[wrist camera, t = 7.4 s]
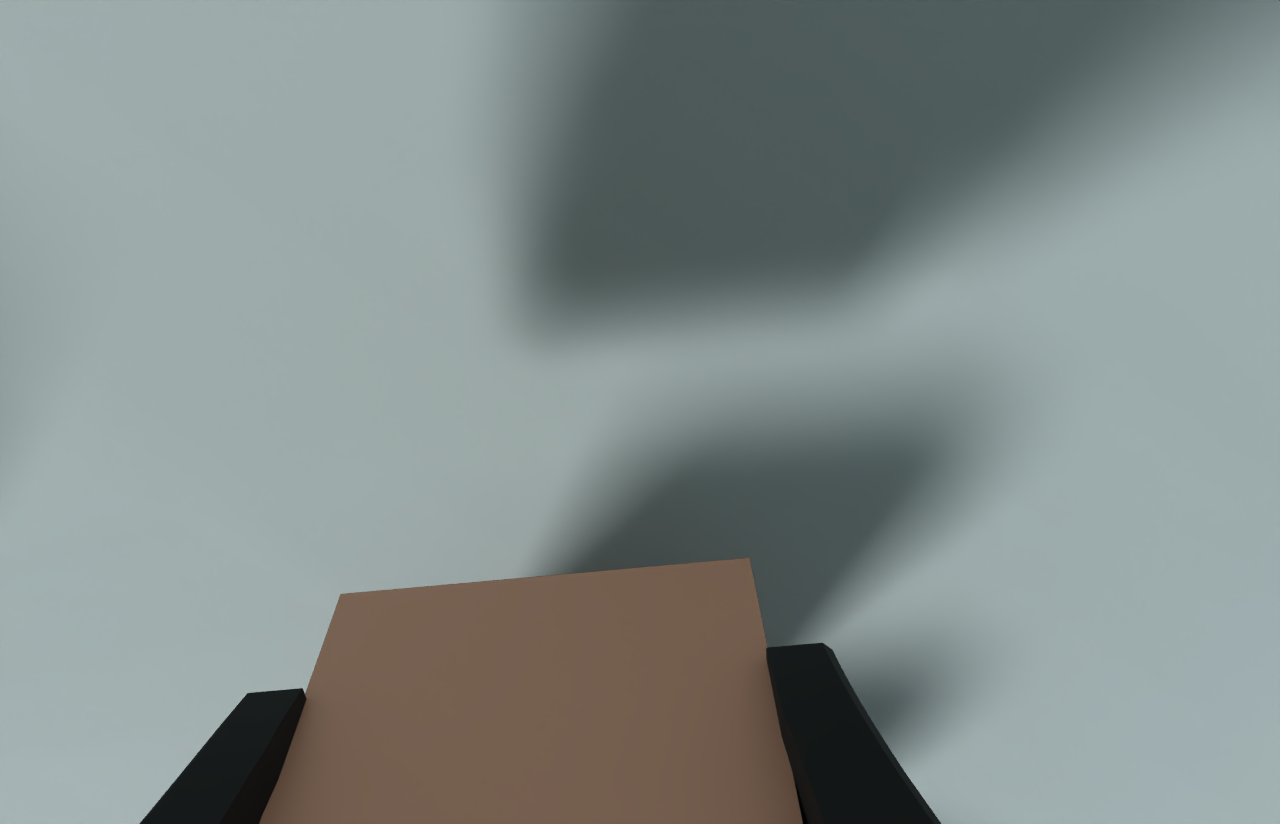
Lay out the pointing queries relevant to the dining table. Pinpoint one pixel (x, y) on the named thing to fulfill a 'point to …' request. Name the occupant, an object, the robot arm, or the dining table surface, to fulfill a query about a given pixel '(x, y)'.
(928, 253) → the dining table surface
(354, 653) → the domino
